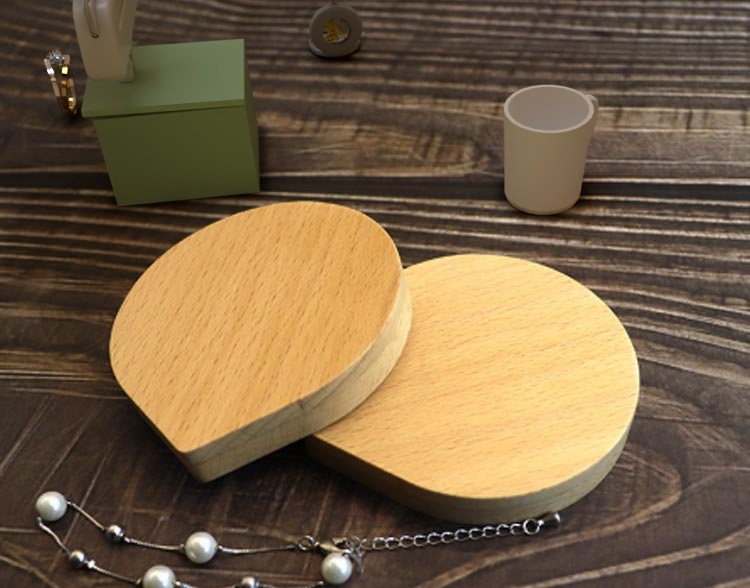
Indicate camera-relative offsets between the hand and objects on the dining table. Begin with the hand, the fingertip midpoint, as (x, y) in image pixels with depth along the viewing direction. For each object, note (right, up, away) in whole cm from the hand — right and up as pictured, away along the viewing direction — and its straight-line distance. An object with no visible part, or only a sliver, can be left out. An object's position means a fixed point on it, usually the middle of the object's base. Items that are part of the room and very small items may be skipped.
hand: (127, 75), depth 107 cm
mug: (+45, -12, +2) cm, 46 cm away
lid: (+4, 0, +1) cm, 4 cm away
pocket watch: (+21, +10, +25) cm, 34 cm away
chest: (+5, -8, +9) cm, 13 cm away
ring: (-11, +1, +18) cm, 21 cm away
